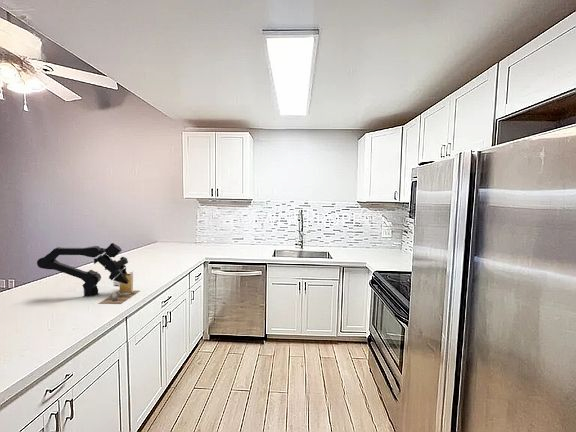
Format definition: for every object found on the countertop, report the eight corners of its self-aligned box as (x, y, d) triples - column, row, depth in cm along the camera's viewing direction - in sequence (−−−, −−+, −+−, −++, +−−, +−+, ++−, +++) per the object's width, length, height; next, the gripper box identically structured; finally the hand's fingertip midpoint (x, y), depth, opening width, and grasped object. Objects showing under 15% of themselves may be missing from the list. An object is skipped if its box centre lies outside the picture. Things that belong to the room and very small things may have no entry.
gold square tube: (130, 293, 201) (131, 275, 201) (119, 293, 200) (119, 276, 199) (132, 290, 207) (132, 273, 207) (121, 290, 206) (121, 273, 205)
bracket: (122, 281, 237) (122, 270, 236) (133, 281, 237) (132, 270, 237) (113, 286, 224) (113, 274, 223) (124, 286, 224) (124, 275, 224)
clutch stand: (121, 306, 184) (120, 295, 183) (97, 306, 183) (97, 295, 183) (140, 293, 210) (140, 283, 209) (120, 292, 209) (120, 282, 209)
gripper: (115, 256, 192) (137, 275, 196) (122, 250, 210) (141, 268, 214) (99, 270, 191) (121, 289, 194) (107, 263, 209) (127, 281, 212)
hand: (128, 281), depth 204 cm, fingers open, 9 cm apart
